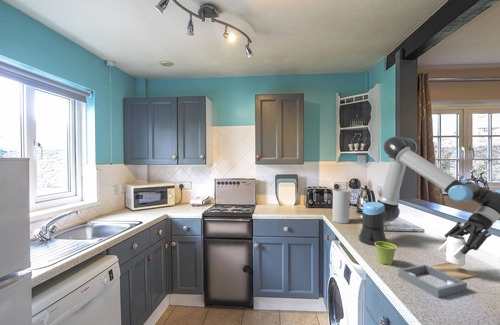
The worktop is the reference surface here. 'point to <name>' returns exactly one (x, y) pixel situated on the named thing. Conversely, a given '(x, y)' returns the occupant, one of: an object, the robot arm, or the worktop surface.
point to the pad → (454, 271)
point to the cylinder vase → (341, 206)
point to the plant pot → (385, 252)
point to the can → (454, 249)
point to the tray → (451, 288)
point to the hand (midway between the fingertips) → (448, 254)
